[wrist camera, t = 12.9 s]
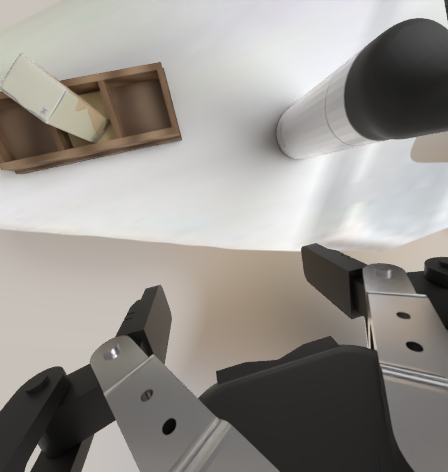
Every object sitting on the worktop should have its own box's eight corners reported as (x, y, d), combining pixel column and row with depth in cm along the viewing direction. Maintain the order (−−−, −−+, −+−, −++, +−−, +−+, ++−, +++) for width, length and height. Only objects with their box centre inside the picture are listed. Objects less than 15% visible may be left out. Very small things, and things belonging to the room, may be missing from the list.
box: (112, 122, 32) (70, 91, 21) (96, 145, 32) (48, 126, 22) (79, 96, 30) (18, 49, 20) (63, 120, 31) (-5, 87, 20)
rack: (164, 71, 32) (160, 58, 29) (181, 139, 35) (180, 134, 31) (-12, 104, 30) (-38, 94, 27) (21, 174, 33) (1, 173, 29)
